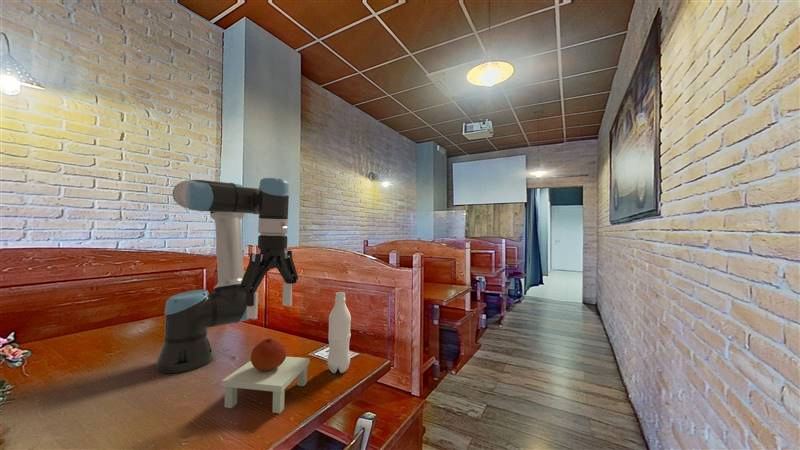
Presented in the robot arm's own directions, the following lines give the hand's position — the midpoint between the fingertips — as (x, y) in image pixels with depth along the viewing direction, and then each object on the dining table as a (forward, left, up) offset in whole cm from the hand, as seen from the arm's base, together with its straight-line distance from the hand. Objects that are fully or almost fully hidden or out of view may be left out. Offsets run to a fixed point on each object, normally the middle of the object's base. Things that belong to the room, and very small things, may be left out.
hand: (270, 311), depth 83 cm
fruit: (0, 0, -16) cm, 16 cm away
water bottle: (+11, +19, -23) cm, 32 cm away
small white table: (0, 0, -23) cm, 23 cm away
